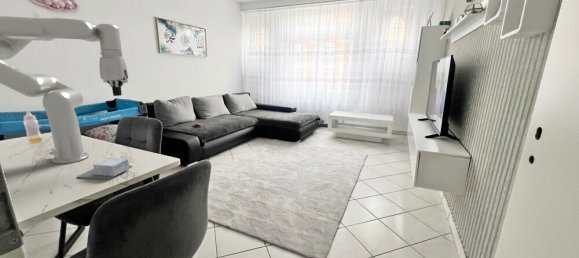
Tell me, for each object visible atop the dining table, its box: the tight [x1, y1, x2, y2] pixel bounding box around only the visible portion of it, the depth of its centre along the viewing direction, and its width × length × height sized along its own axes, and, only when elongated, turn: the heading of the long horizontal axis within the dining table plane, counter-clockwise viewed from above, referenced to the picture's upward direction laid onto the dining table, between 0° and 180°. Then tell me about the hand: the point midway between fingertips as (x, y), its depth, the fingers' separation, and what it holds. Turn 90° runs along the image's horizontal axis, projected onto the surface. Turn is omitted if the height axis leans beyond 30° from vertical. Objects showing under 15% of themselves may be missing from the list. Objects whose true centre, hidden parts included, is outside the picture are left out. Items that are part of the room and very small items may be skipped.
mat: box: [76, 165, 133, 181], centre depth 100 cm, size 13×13×1 cm
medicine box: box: [92, 157, 130, 177], centre depth 99 cm, size 8×4×9 cm
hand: (117, 95), depth 113 cm, fingers closed
